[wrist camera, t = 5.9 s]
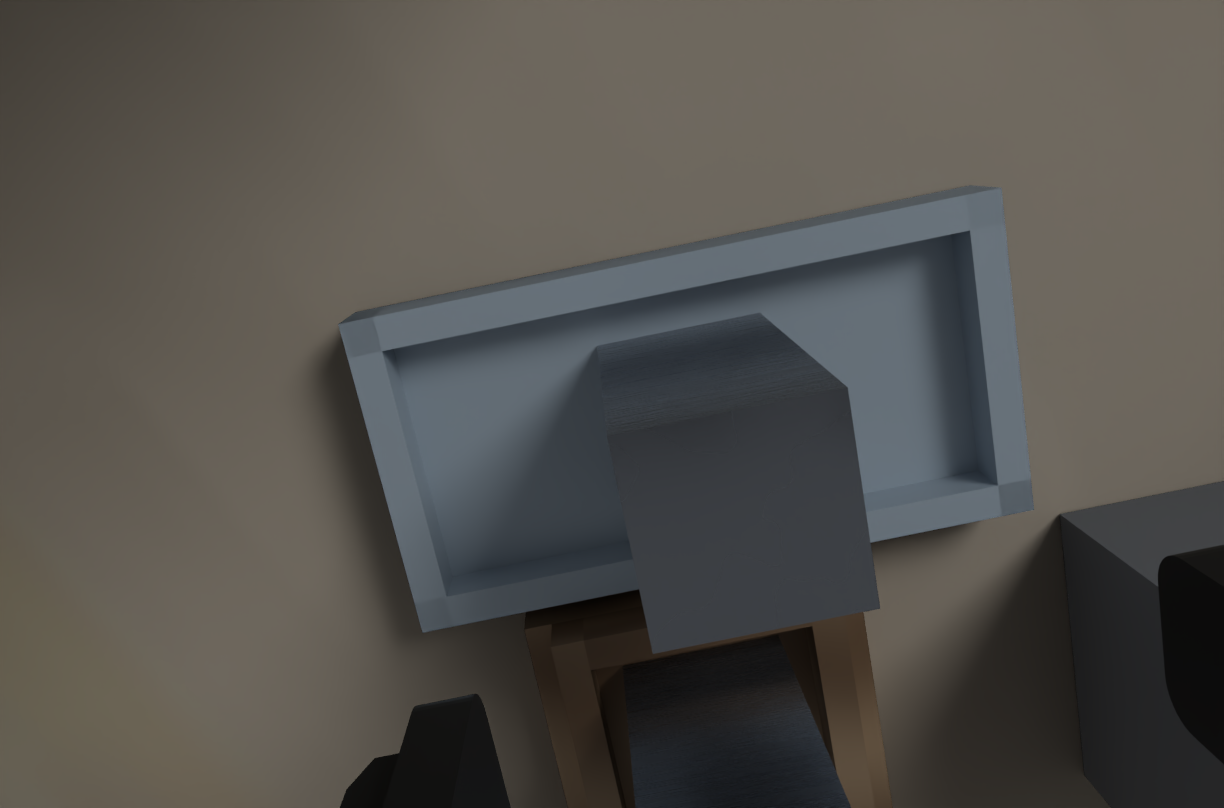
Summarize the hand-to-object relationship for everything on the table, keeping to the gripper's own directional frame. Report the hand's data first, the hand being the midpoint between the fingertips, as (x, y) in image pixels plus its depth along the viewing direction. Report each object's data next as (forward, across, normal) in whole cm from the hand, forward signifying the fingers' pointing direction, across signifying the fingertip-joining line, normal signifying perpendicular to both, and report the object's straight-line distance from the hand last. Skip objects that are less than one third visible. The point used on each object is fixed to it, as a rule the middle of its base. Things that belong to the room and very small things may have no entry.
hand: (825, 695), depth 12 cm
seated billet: (+12, +1, +8) cm, 15 cm away
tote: (+14, 0, 0) cm, 14 cm away
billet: (+13, 0, 0) cm, 13 cm away
